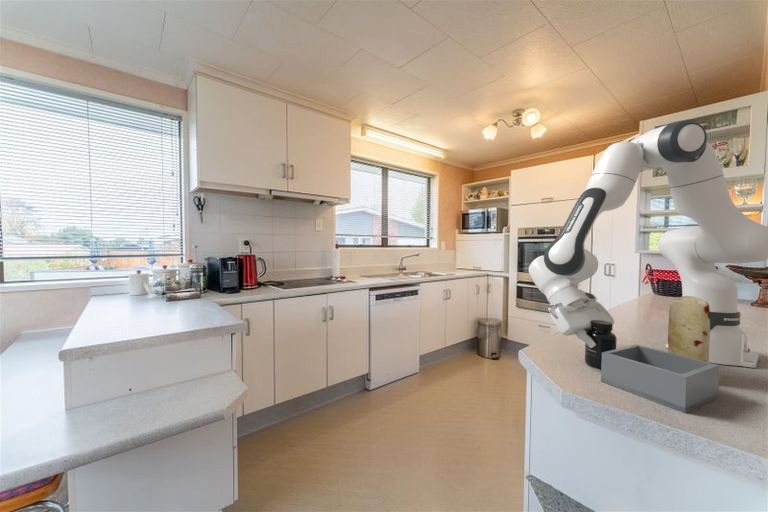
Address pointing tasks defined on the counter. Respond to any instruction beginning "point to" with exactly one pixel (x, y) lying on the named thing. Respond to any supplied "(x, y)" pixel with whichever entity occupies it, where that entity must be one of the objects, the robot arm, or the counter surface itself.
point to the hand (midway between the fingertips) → (603, 344)
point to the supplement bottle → (599, 342)
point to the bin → (661, 376)
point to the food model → (689, 328)
